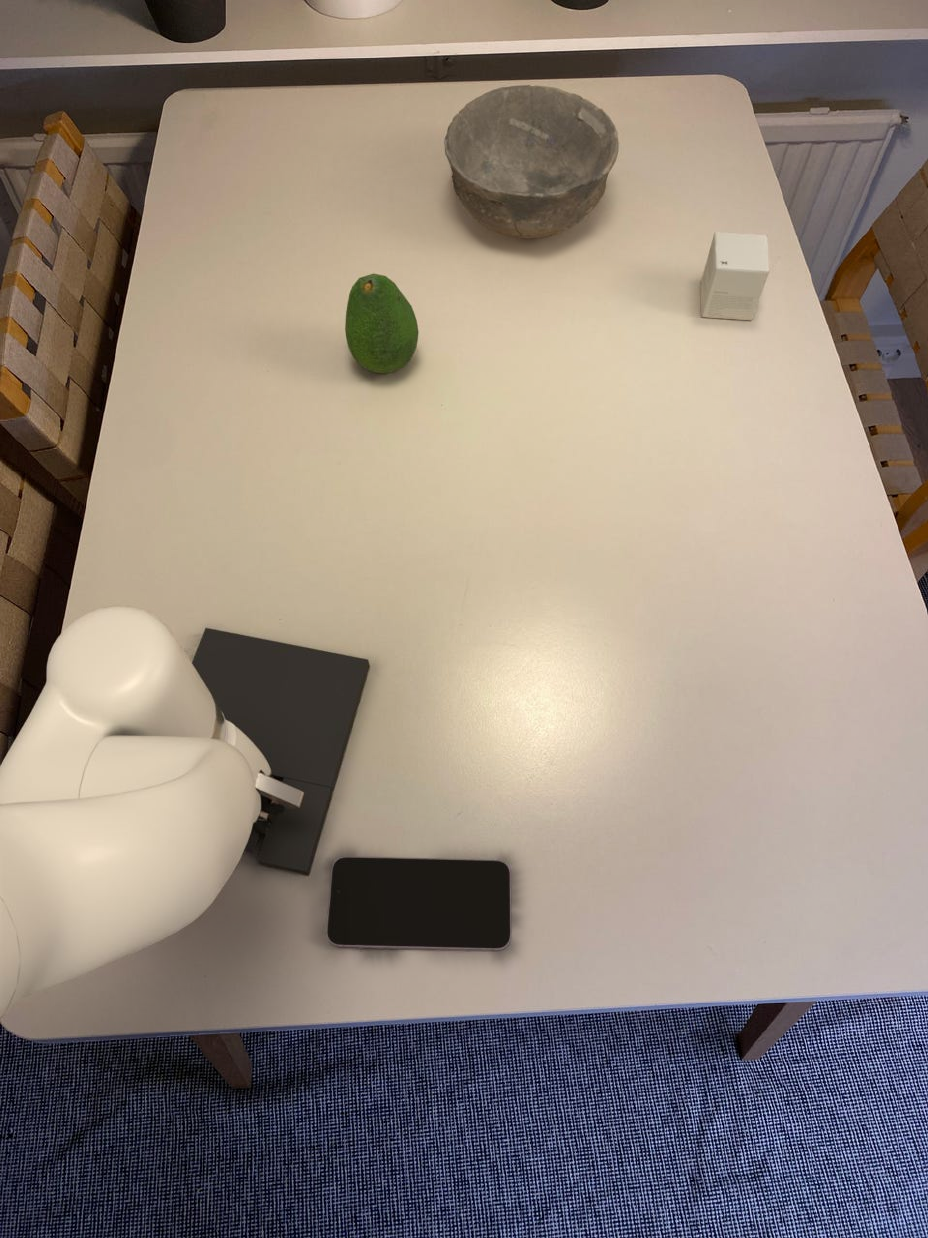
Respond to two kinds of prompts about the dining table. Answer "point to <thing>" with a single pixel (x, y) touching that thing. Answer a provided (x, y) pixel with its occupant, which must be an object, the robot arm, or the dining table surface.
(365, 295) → the fruit
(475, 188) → the bowl
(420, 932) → the smartphone
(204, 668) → the mat
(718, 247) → the product box
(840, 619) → the dining table surface
